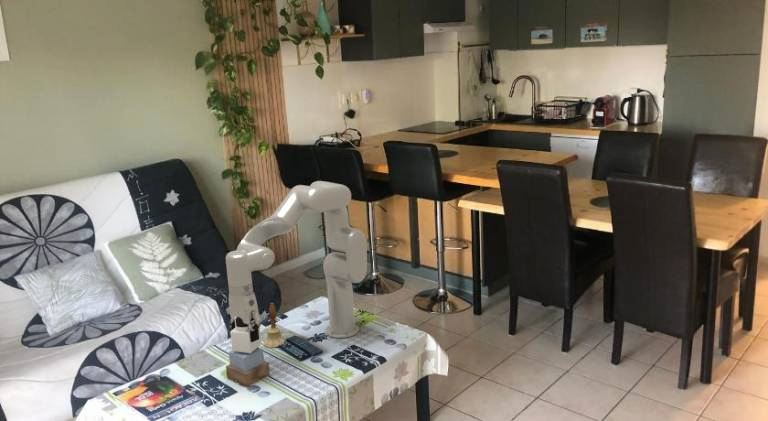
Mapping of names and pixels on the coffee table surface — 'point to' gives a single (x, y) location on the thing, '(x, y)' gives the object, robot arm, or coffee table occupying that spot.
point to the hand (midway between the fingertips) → (245, 336)
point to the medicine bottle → (243, 337)
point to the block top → (246, 359)
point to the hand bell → (273, 331)
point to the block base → (248, 374)
